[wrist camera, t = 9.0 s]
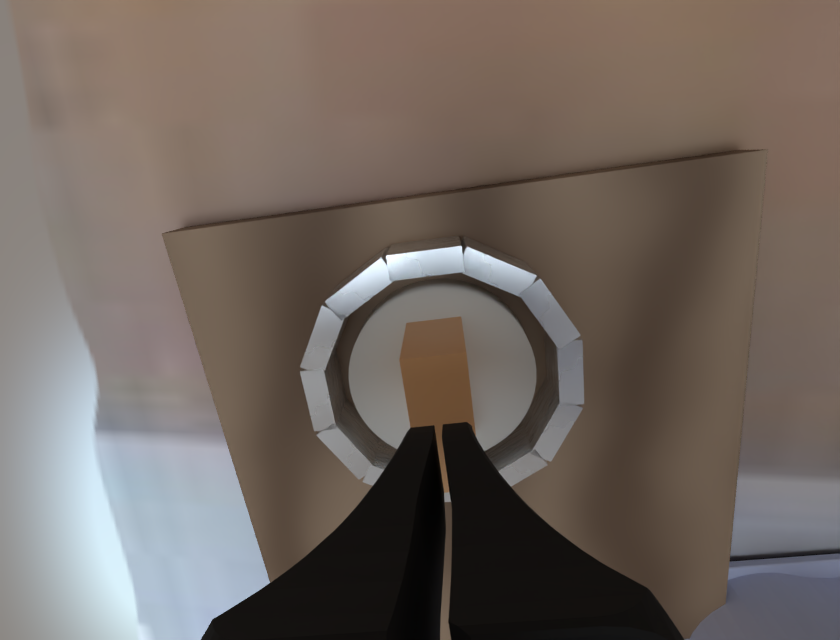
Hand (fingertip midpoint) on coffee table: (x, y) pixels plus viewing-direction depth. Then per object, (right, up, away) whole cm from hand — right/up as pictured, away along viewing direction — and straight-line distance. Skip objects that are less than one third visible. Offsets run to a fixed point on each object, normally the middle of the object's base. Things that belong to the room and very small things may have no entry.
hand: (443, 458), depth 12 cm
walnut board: (+2, -2, +8) cm, 9 cm away
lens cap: (0, +2, +6) cm, 6 cm away
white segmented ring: (0, +2, +6) cm, 6 cm away
